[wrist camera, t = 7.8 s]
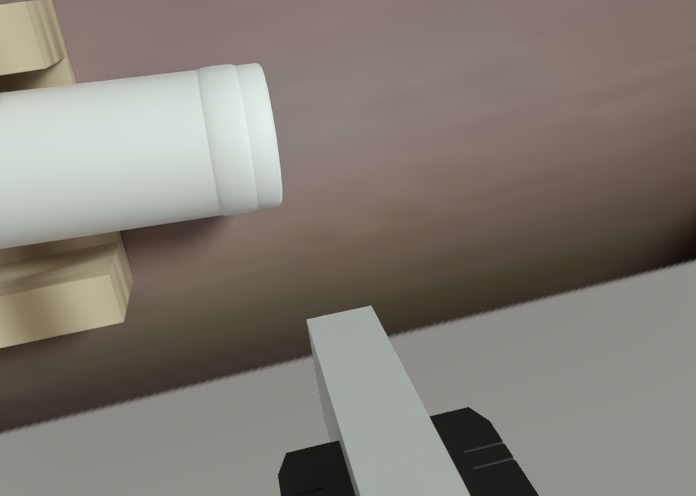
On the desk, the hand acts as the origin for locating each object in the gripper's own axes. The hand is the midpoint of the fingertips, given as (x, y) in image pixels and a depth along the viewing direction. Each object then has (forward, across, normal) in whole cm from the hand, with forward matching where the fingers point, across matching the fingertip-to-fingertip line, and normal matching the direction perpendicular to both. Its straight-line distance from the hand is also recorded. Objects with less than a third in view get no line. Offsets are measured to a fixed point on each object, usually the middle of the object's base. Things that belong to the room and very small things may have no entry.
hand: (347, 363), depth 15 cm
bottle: (+23, -1, -1) cm, 23 cm away
